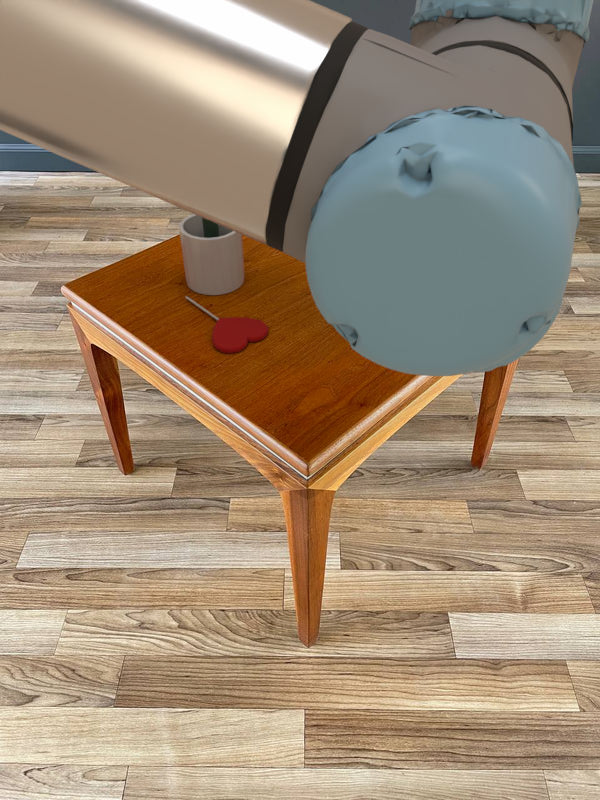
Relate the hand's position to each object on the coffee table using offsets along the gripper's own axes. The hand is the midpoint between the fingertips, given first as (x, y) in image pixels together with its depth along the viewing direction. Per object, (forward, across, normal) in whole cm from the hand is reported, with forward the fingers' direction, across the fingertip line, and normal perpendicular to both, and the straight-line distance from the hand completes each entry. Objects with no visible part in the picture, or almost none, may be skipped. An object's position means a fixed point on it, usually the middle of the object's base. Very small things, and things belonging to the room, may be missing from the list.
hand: (251, 112), depth 58 cm
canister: (+25, +3, -32) cm, 41 cm away
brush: (+25, +3, -31) cm, 40 cm away
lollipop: (+14, -1, -32) cm, 35 cm away
